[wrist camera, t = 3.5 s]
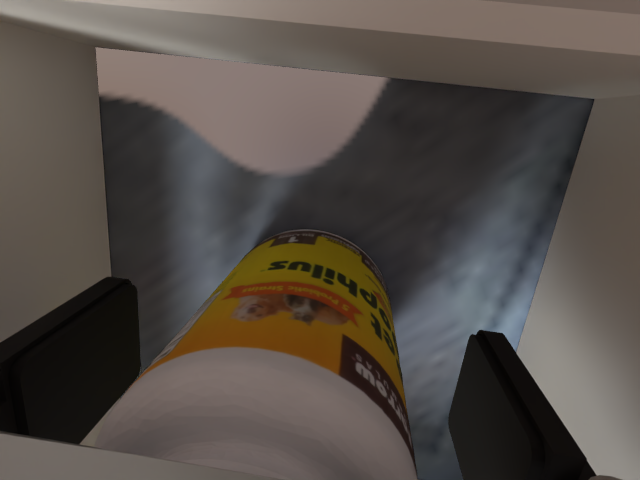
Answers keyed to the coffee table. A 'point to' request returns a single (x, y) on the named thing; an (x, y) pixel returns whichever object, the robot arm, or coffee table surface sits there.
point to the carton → (364, 59)
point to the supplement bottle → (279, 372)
